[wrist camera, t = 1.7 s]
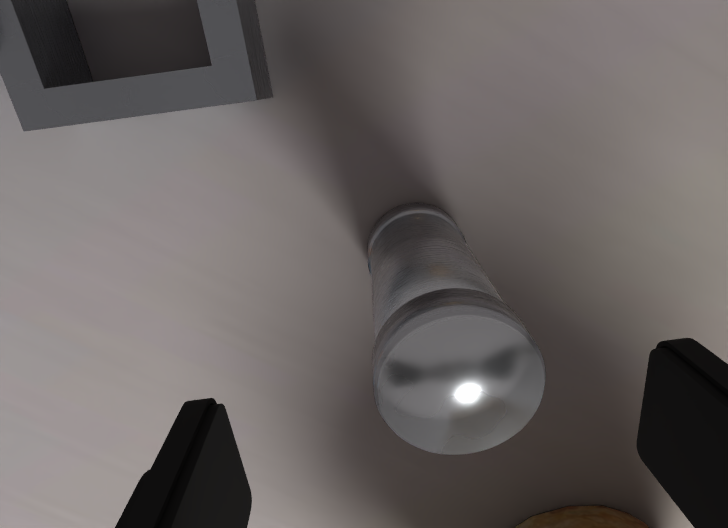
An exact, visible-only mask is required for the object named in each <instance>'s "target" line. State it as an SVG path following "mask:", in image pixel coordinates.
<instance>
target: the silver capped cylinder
mask: <svg viewBox="0 0 728 528" xmlns="http://www.w3.org/2000/svg"><path fill="white" fill-rule="evenodd" d="M367 252H368V267H369V271H370V274H371V281H372V299H373V316H374V333H375V344H374V348H373V356H372V363H373V385H374V397H375V402H376V405H377V408H378V410H379V413H380V415H381V416H382V418H383V420H384V421H385V422H386V423H387V425H388V426H389V427H390V428H391V429H392V430H393V431H394V432H395V433H396V434H397V435H398V436H399V437H400V438H402V439H403V440H404V441H406V442H407V443H409V444H411V445H413V446H415V447H417V448H420V449H422V450H425V451H429V452H432V453H438V454H445V455H462V454H470V453H476V452H480V451H484V450H487V449H489V448H492V447H495V446H497V445H499V444H501V443H503V442H505V441H506V440H508V439H510V438H511V437H513V436H514V435H515V434H516V433H518V432H519V431H520V430H521V429H522V428H523V427H524V426H525V425H526V424H527V423H528V422H529V421H530V419H531V418H532V417H533V415H534V414H535V412H536V411H537V409H538V407H539V404H540V402H541V399H542V396H543V392H544V387H545V379H546V374H545V365H544V360H543V357H542V354H541V352H540V350H539V348H538V346H537V345H536V343H535V341H534V340H533V338H532V337H531V335H530V334H529V332H528V331H527V329H526V328H525V326H524V325H523V323H522V322H521V320H520V319H519V317H518V316H517V315H516V314H515V313H514V311H513V310H512V309H511V308H510V307H509V306H507V305H506V304H505V303H504V302H503V300H502V299H501V297H500V295H499V294H498V292H497V291H496V289H495V288H494V286H493V285H492V283H491V282H490V280H489V279H488V277H487V275H486V274H485V272H484V271H483V269H482V268H481V266H480V265H479V263H478V262H477V260H476V259H475V257H474V256H473V254H472V252H471V251H470V249H469V248H468V246H467V245H466V241H465V239H464V236H463V234H462V233H461V231H460V229H459V228H458V226H457V225H456V223H455V222H454V221H453V219H452V218H451V217H450V216H449V215H448V214H447V213H445V212H444V211H442V210H441V209H439V208H437V207H435V206H432V205H429V204H424V203H410V204H405V205H401V206H398V207H396V208H394V209H392V210H390V211H389V212H387V213H386V214H385V215H383V216H382V217H381V218H380V219H379V220H378V222H377V223H376V224H375V226H374V227H373V229H372V231H371V234H370V236H369V240H368V247H367Z"/></svg>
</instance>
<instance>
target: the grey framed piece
mask: <svg viewBox="0 0 728 528" xmlns="http://www.w3.org/2000/svg"><path fill="white" fill-rule="evenodd" d="M197 4H198V8H199V12H200V17H201V21H202V25H203V29H204V34H205V38H206V42H207V46H208V51H209V55H210V59H211V64H212V66H206V67H199V68H191V69H184V70H177V71H170V72H162V73H155V74H148V75H140V76H133V77H126V78H119V79H111V80H104V81H97V82H93V81H92V78H91V75H90V72H89V69H88V66H87V62H86V59H85V56H84V53H83V50H82V47H81V44H80V41H79V38H78V35H77V32H76V29H75V26H74V23H73V20H72V17H71V14H70V11H69V8H68V5H67V2H66V0H0V73H1V76H2V78H3V81H4V83H5V86H6V88H7V91H8V93H9V96H10V98H11V101H12V103H13V106H14V108H15V111H16V113H17V116H18V118H19V121H20V123H21V126H22V128H23V130H24V131H30V130H38V129H45V128H53V127H60V126H68V125H75V124H83V123H90V122H98V121H105V120H113V119H120V118H128V117H135V116H143V115H150V114H158V113H165V112H172V111H180V110H187V109H195V108H202V107H210V106H217V105H225V104H232V103H240V102H247V101H255V100H261V99H266V98H271V97H273V94H272V89H271V83H270V78H269V73H268V68H267V62H266V57H265V52H264V47H263V41H262V36H261V31H260V26H259V20H258V15H257V10H256V4H255V0H197Z"/></svg>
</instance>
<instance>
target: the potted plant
mask: <svg viewBox="0 0 728 528" xmlns="http://www.w3.org/2000/svg"><path fill="white" fill-rule="evenodd" d="M515 528H649V527H648V526H647V525H646V524H645V523H644V522H642V521H641V520H639V519H637V518H635V517H634V516H632V515H630V514H628V513H626V512H622V511H619V510H615V509H612V508H608V507H605V506H567V507H564V508H560V509H557V510H553V511H550V512H546V513H542V514H539V515H535V516H532V517H530V518H528V519H527V520H525V521H524V522H522V523H521V524H519V525H518V526H516V527H515Z"/></svg>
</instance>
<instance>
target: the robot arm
mask: <svg viewBox="0 0 728 528" xmlns="http://www.w3.org/2000/svg"><path fill="white" fill-rule="evenodd" d="M637 450H638V453H639V456H640V458H641V459H642V461H643V462H644V464H645V465H646V466H647V468H648V469H649V470H650V471H651V473H652V474H653V475H654V476H655V478H656V479H657V480H658V482H659V483H660V484H661V485H662V487H663V488H664V489H665V491H666V492H667V493H668V494H669V496H670V497H671V498H672V500H673V501H674V502H675V503H676V505H677V506H678V507H679V508H680V510H681V511H682V512H683V514H684V515H685V516H686V517H687V519H688V520H689V521H690V523H691V524H692V525H693V526H694V528H728V364H727V363H725V362H724V361H723V360H721V359H720V358H719V357H717V356H716V355H715V354H713V353H712V352H710V351H709V350H708V349H706V348H705V347H704V346H702V345H701V344H700V343H698V342H697V341H695V340H693V339H691V338H683V339H675V340H667V341H662V342H659V343H658V345H657V346H656V349H653V350H652V351H651V352H650V355H649V362H648V369H647V376H646V382H645V389H644V396H643V403H642V410H641V416H640V423H639V430H638V437H637ZM251 504H252V497H251V490H250V487H249V484H248V480H247V477H246V474H245V471H244V467H243V464H242V461H241V458H240V454H239V451H238V448H237V444H236V441H235V438H234V435H233V431H232V428H231V425H230V422H229V418H228V415H227V412H226V409H225V406H224V405H223V404H217V403H216V401H215V400H214V399H213V398H208V399H200V400H192V401H187V402H185V403H184V404H183V406H182V408H181V410H180V412H179V414H178V416H177V418H176V420H175V422H174V424H173V426H172V428H171V430H170V432H169V434H168V436H167V438H166V440H165V442H164V444H163V446H162V448H161V450H160V452H159V454H158V456H157V458H156V460H155V462H154V464H153V466H152V467H151V469H150V470H148V471H147V472H146V473H144V474H143V476H142V477H141V479H140V480H139V482H138V484H137V486H136V488H135V490H134V492H133V494H132V496H131V498H130V500H129V502H128V504H127V505H126V507H125V509H124V511H123V513H122V515H121V517H120V519H119V521H118V523H117V525H116V527H115V528H247V525H248V520H249V516H250V511H251Z"/></svg>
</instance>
